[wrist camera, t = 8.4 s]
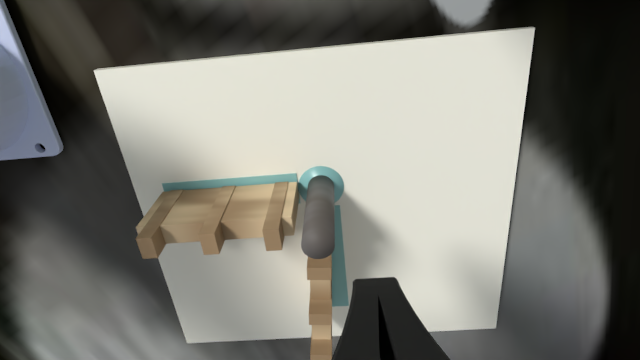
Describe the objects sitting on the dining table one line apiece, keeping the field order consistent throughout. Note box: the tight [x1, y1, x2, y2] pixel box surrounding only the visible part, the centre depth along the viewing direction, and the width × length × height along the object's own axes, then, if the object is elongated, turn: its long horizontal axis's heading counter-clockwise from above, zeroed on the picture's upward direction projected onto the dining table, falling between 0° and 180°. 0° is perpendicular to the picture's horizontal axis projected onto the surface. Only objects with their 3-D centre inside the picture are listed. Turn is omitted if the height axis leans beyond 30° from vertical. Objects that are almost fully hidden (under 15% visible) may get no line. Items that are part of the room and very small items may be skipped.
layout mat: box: [94, 27, 535, 343], centre depth 23 cm, size 20×18×1 cm
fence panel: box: [307, 254, 332, 360], centre depth 22 cm, size 7×1×4 cm, turn 1°
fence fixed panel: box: [136, 175, 335, 259], centre depth 20 cm, size 9×1×5 cm, turn 96°
